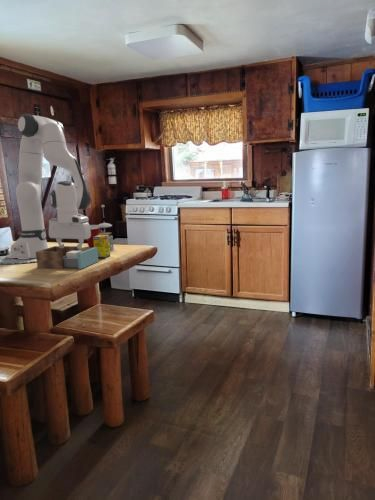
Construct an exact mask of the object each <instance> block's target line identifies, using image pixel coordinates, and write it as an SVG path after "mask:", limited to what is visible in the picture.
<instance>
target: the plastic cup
mask: <svg viewBox="0 0 375 500" xmlns="http://www.w3.org/2000/svg"><path fill="white" fill-rule="evenodd" d="M89 225H90V230H91V237H90V238H89V239H85V240H86V243H87V247H88V248H94V240H93V237H95V236H98V235H99V233H101V228H98V227H97V226H98V225H99V224H89Z"/></svg>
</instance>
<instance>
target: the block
mask: <svg viewBox="0 0 375 500" xmlns="http://www.w3.org/2000/svg"><path fill="white" fill-rule="evenodd" d="M81 252H83V251H82V250H79V251H70V252H67V253H66V255H67V258H78V257H77V254H78V253H81Z"/></svg>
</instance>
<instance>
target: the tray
mask: <svg viewBox="0 0 375 500" xmlns="http://www.w3.org/2000/svg"><path fill="white" fill-rule="evenodd" d="M77 257H78V258H67V255H66V256H63V262H64V268H75V269H76V268H78V269H79V270H81V269H84V268H87V267H89V266H91V265H93V264H96V263H98V262H99V258H98V252H97V247H90V249H86V250H84V251H82V252H81V253H78V254H77Z"/></svg>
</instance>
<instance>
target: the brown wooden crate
mask: <svg viewBox="0 0 375 500" xmlns="http://www.w3.org/2000/svg"><path fill="white" fill-rule="evenodd" d="M70 251H80V249H77V245H74V246H72V245H71V246H69V245H64V248H59V245H55V246H50V247H48V248H47V249H44V250H40V251H37V252H36V258H35V259H36V266H37V269H54V270H55V269H56V270H57V269H58V270H63V269H65V267H64V262H63V256H66V253H67V252H70Z"/></svg>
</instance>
